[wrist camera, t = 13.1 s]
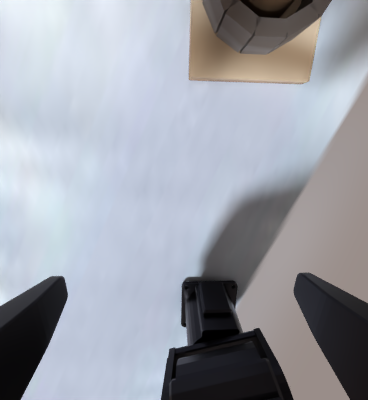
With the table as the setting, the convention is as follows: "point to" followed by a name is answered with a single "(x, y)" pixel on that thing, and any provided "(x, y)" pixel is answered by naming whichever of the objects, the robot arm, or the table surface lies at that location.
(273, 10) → the plug
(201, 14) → the ringed base plate
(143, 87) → the table surface
